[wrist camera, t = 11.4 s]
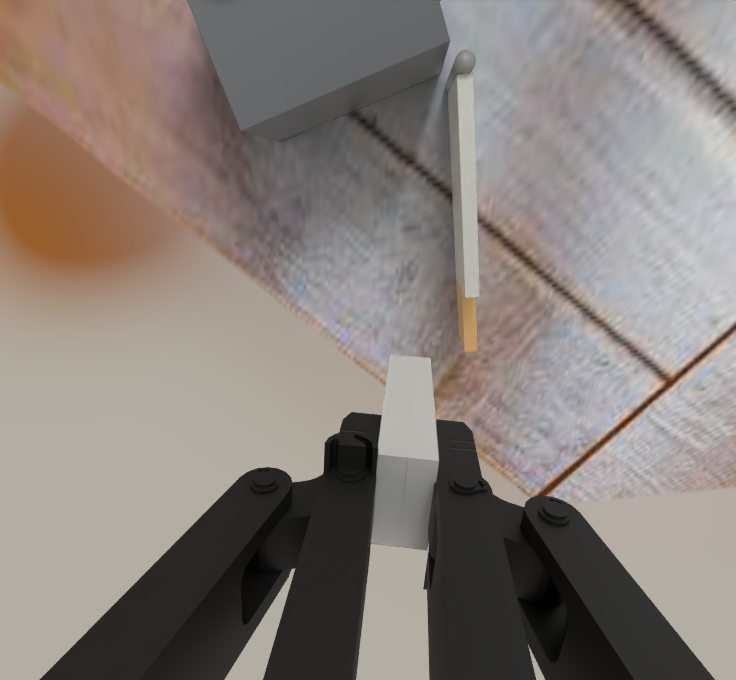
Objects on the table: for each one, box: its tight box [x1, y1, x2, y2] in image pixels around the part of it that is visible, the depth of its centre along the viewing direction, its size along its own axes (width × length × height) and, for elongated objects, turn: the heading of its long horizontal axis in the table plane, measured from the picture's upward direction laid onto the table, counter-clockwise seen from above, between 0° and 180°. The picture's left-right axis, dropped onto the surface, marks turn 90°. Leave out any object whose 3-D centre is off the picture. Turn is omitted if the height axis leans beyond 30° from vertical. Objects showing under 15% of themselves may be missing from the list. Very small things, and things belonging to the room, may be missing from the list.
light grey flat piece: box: [446, 50, 479, 352], centre depth 29 cm, size 16×1×7 cm, turn 6°
